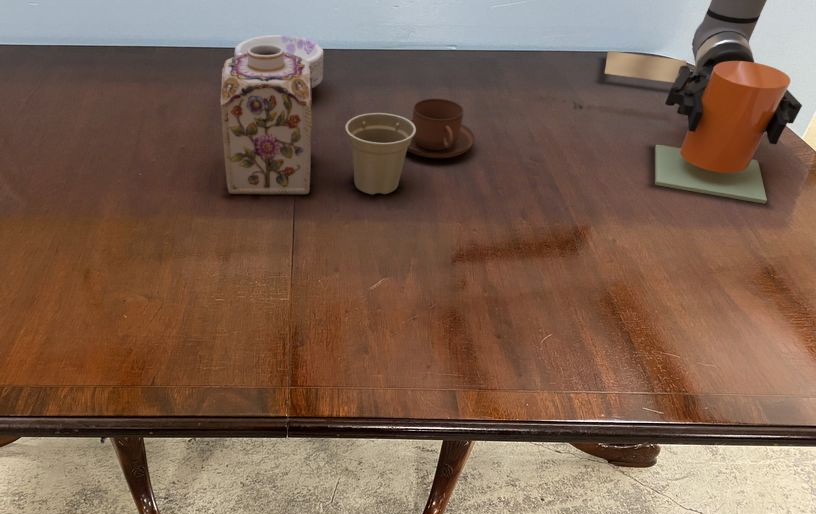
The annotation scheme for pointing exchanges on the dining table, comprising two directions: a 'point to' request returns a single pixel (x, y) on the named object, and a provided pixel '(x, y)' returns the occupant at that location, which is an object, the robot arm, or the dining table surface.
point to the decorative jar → (267, 121)
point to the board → (643, 66)
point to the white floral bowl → (291, 51)
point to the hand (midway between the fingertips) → (736, 127)
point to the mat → (707, 177)
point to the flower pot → (378, 150)
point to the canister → (734, 115)
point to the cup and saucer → (439, 130)
